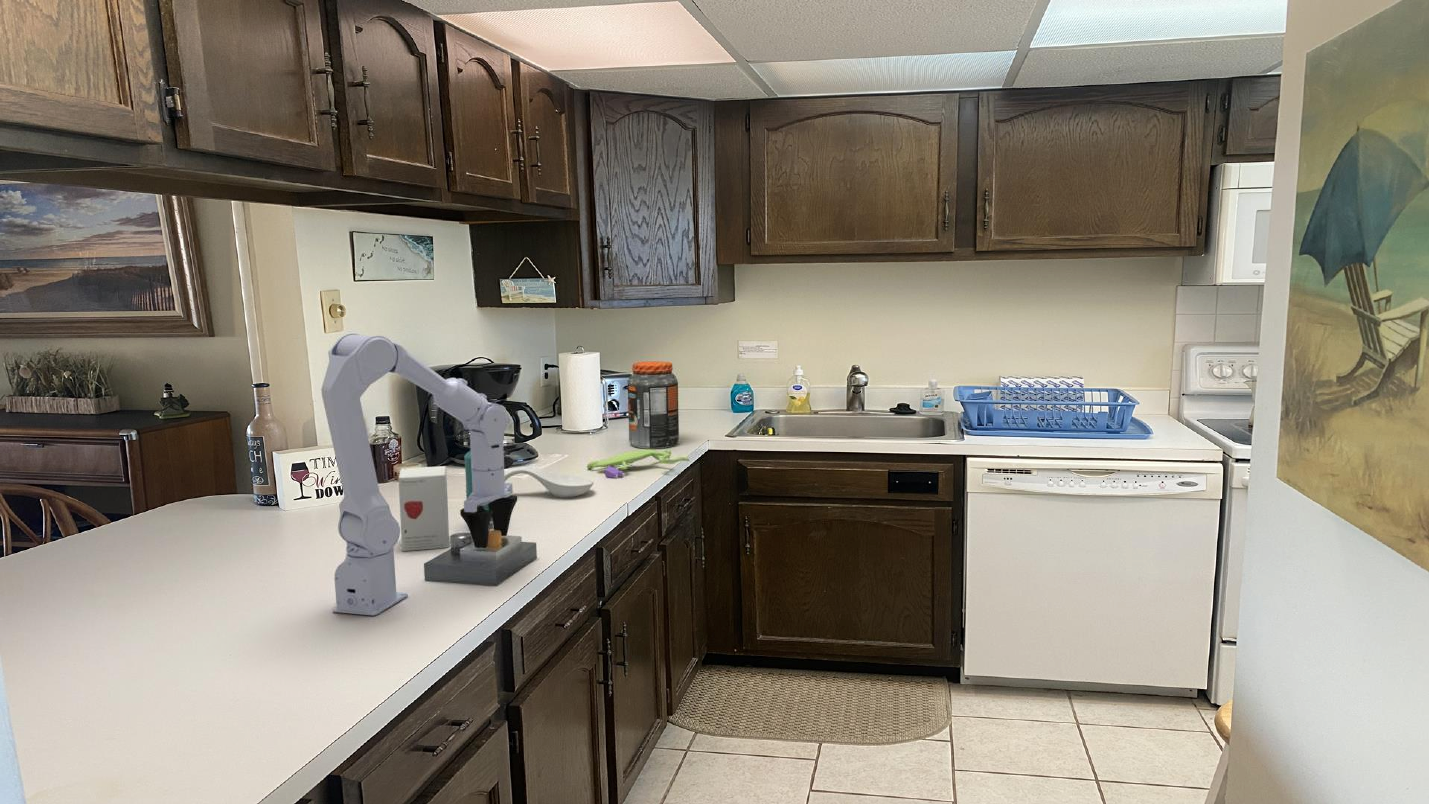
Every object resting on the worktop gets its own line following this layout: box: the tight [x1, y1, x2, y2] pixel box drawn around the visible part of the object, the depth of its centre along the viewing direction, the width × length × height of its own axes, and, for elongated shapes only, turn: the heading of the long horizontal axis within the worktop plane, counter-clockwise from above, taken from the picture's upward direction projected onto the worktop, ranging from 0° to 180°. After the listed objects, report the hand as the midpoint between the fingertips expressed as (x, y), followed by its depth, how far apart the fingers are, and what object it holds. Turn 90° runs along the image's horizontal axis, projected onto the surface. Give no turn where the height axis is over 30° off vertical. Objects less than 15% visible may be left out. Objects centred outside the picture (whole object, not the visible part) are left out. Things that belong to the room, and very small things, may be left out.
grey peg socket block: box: [423, 532, 538, 587], centre depth 167 cm, size 16×14×6 cm
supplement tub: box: [627, 361, 680, 450], centre depth 285 cm, size 16×16×26 cm
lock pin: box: [487, 529, 502, 547], centre depth 166 cm, size 3×3×7 cm
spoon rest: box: [504, 466, 595, 499], centre depth 222 cm, size 24×12×7 cm, turn 95°
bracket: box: [460, 534, 523, 563], centre depth 166 cm, size 10×7×2 cm
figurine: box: [586, 448, 690, 479], centre depth 249 cm, size 18×27×6 cm
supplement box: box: [398, 465, 450, 552], centre depth 182 cm, size 9×9×15 cm
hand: (491, 541), depth 166 cm, fingers open, 7 cm apart
